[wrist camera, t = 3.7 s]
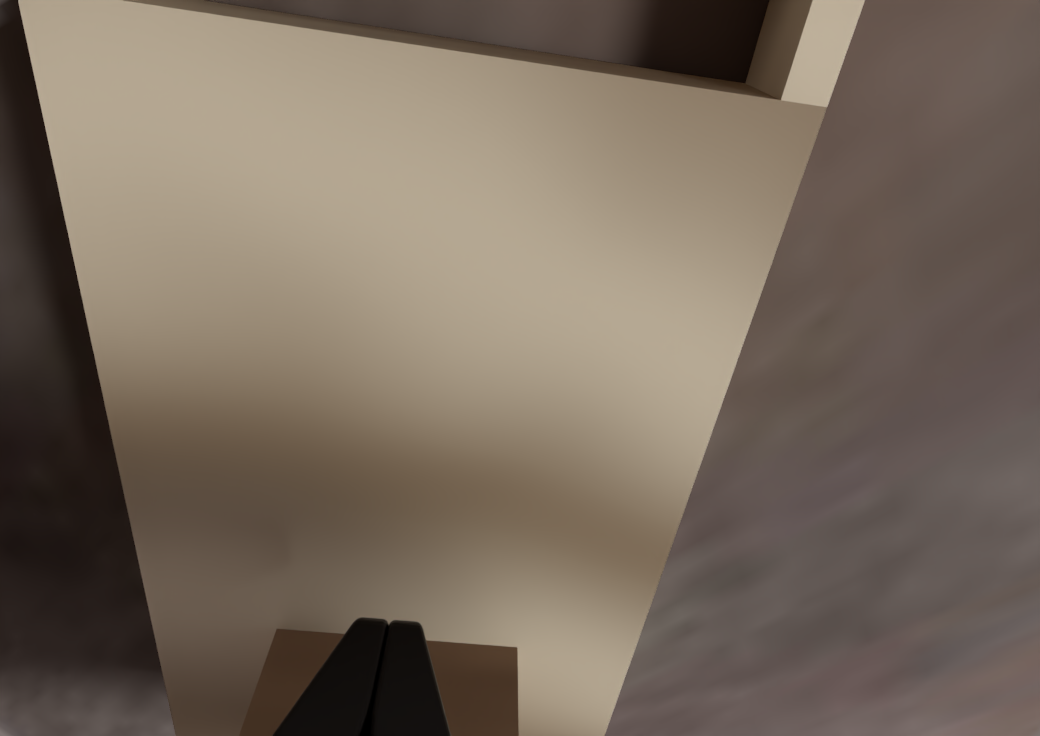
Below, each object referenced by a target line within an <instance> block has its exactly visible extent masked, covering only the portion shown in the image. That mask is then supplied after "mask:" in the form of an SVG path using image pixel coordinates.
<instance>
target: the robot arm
mask: <svg viewBox="0 0 1040 736" xmlns="http://www.w3.org/2000/svg"><path fill="white" fill-rule="evenodd" d="M272 736H451V733H450V729H449V725H448V721H447V718H446V714H445V710H444V706H443V703H442V699H441V695H440V691H439V687H438V684H437V680H436V676H435V672H434V668H433V665H432V661H431V657H430V653H429V649H428V646H427V642H426V638H425V634H424V630H423V627H422V625H421V624H420V623H419V622H416V621H404V620H393V621H391V622H390V624H388V621H387V620H385V619H379V618H366V617H360V618H358V619H356V620H355V621H354V622H353V623H352V624H351V626H350V627H349V629H348V630H347V631H346V633H345V634H344V636H343V637H342V638H341V640H340V641H339V643H338V644H337V645H336V647H335V648H334V650H333V651H332V652H331V654H330V655H329V657H328V658H327V659H326V661H325V662H324V664H323V665H322V666H321V668H320V669H319V671H318V672H317V673H316V675H315V676H314V678H313V679H312V680H311V682H310V683H309V685H308V686H307V687H306V689H305V690H304V692H303V693H302V694H301V696H300V697H299V699H298V700H297V701H296V703H295V704H294V706H293V707H292V708H291V710H290V711H289V713H288V714H287V715H286V717H285V718H284V720H283V721H282V722H281V724H280V725H279V727H278V728H277V729H276V731H275V732H274V734H273V735H272Z"/></svg>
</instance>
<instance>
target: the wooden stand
mask: <svg viewBox="0 0 1040 736" xmlns="http://www.w3.org/2000/svg"><path fill="white" fill-rule="evenodd" d="M864 1H865V0H769V4H768V7H767V10H766V14H765V17H764V21H763V24H762V28H761V31H760V35H759V38H758V41H757V45H756V48H755V52H754V55H753V59H752V62H751V66H750V69H749V72H748V76H747V79H746V83H739V82H733V81H726V80H720V79H713V78H707V77H700V76H694V75H687V74H681V73H674V72H668V71H661V70H654V69H648V68H641V67H635V66H628V65H622V64H615V63H609V62H602V61H596V60H589V59H583V58H576V57H570V56H563V55H557V54H550V53H543V52H537V51H530V50H524V49H517V48H511V47H504V46H498V45H491V44H485V43H478V42H472V41H465V40H459V39H452V38H445V37H439V36H432V35H426V34H419V33H413V32H406V31H400V30H393V29H387V28H380V27H374V26H367V25H361V24H354V23H348V22H341V21H334V20H328V19H321V18H315V17H308V16H302V15H295V14H289V13H282V12H276V11H269V10H263V9H256V8H250V7H243V6H237V5H230V4H223V3H217V2H210V1H204V0H18V3H19V8H20V12H21V17H22V22H23V26H24V31H25V36H26V40H27V45H28V50H29V54H30V59H31V64H32V68H33V73H34V77H35V82H36V87H37V91H38V96H39V101H40V105H41V110H42V115H43V119H44V124H45V129H46V133H47V138H48V143H49V147H50V152H51V157H52V161H53V166H54V171H55V175H56V180H57V185H58V189H59V194H60V199H61V203H62V208H63V213H64V217H65V222H66V227H67V231H68V236H69V240H70V245H71V250H72V254H73V259H74V264H75V268H76V273H77V278H78V282H79V287H80V292H81V296H82V301H83V306H84V310H85V315H86V320H87V324H88V329H89V334H90V338H91V343H92V348H93V352H94V357H95V362H96V366H97V371H98V376H99V380H100V385H101V389H102V394H103V399H104V403H105V408H106V413H107V417H108V422H109V427H110V431H111V436H112V441H113V445H114V450H115V455H116V459H117V464H118V469H119V473H120V478H121V483H122V487H123V492H124V497H125V501H126V506H127V511H128V515H129V520H130V525H131V529H132V534H133V539H134V543H135V548H136V552H137V557H138V562H139V566H140V571H141V576H142V580H143V585H144V590H145V594H146V599H147V604H148V608H149V613H150V618H151V622H152V627H153V632H154V636H155V641H156V646H157V650H158V655H159V660H160V664H161V669H162V674H163V678H164V683H165V688H166V692H167V697H168V702H169V706H170V711H171V715H172V720H173V725H174V729H175V734H176V736H272V735H273V734H274V732H275V731H276V729H277V728H278V727H279V725H280V724H281V722H282V721H283V720H284V718H285V717H286V715H287V714H288V713H289V711H290V710H291V708H292V707H293V706H294V704H295V703H296V701H297V700H298V699H299V697H300V696H301V694H302V693H303V692H304V690H305V689H306V687H307V686H308V685H309V683H310V682H311V680H312V679H313V678H314V676H315V675H316V673H317V672H318V671H319V669H320V668H321V666H322V665H323V664H324V662H325V661H326V659H327V658H328V657H329V655H330V654H331V652H332V651H333V650H334V648H335V647H336V645H337V644H338V643H339V641H340V640H341V638H342V637H343V636H344V634H345V633H346V631H347V630H348V629H349V627H350V626H351V624H352V623H353V622H354V621H355V620H356V619H358V618H360V617H366V618H379V619H385V620H387V621H388V624H390V622H391V621H393V620H404V621H416V622H419V623H420V624H421V625H422V627H423V630H424V634H425V638H426V642H427V646H428V649H429V653H430V657H431V661H432V665H433V668H434V672H435V676H436V680H437V684H438V687H439V691H440V695H441V699H442V703H443V706H444V710H445V714H446V718H447V721H448V725H449V729H450V733H451V736H605V733H606V730H607V727H608V724H609V721H610V719H611V716H612V713H613V710H614V707H615V704H616V702H617V699H618V696H619V693H620V690H621V688H622V685H623V682H624V679H625V676H626V673H627V671H628V668H629V665H630V662H631V659H632V656H633V654H634V651H635V648H636V645H637V642H638V640H639V637H640V634H641V631H642V628H643V625H644V623H645V620H646V617H647V614H648V611H649V608H650V606H651V603H652V600H653V597H654V594H655V592H656V589H657V586H658V583H659V580H660V577H661V575H662V572H663V569H664V566H665V563H666V560H667V558H668V555H669V552H670V549H671V546H672V544H673V541H674V538H675V535H676V532H677V529H678V527H679V524H680V521H681V518H682V515H683V512H684V510H685V507H686V504H687V501H688V498H689V496H690V493H691V490H692V487H693V484H694V481H695V479H696V476H697V473H698V470H699V467H700V464H701V462H702V459H703V456H704V453H705V450H706V448H707V445H708V442H709V439H710V436H711V433H712V431H713V428H714V425H715V422H716V419H717V416H718V414H719V411H720V408H721V405H722V402H723V400H724V397H725V394H726V391H727V388H728V385H729V383H730V380H731V377H732V374H733V371H734V368H735V366H736V363H737V360H738V357H739V354H740V352H741V349H742V346H743V343H744V340H745V337H746V335H747V332H748V329H749V326H750V323H751V321H752V318H753V315H754V312H755V309H756V306H757V304H758V301H759V298H760V295H761V292H762V289H763V287H764V284H765V281H766V278H767V275H768V273H769V270H770V267H771V264H772V261H773V258H774V256H775V253H776V250H777V247H778V244H779V241H780V239H781V236H782V233H783V230H784V227H785V225H786V222H787V219H788V216H789V213H790V210H791V208H792V205H793V202H794V199H795V196H796V193H797V191H798V188H799V185H800V182H801V179H802V177H803V174H804V171H805V168H806V165H807V162H808V160H809V157H810V154H811V151H812V148H813V145H814V143H815V140H816V137H817V134H818V131H819V129H820V126H821V123H822V120H823V117H824V114H825V112H826V109H827V106H828V103H829V100H830V97H831V95H832V92H833V89H834V86H835V83H836V81H837V78H838V75H839V72H840V69H841V66H842V64H843V61H844V58H845V55H846V52H847V49H848V47H849V44H850V41H851V38H852V35H853V33H854V30H855V27H856V24H857V21H858V18H859V16H860V13H861V10H862V7H863V4H864Z"/></svg>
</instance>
